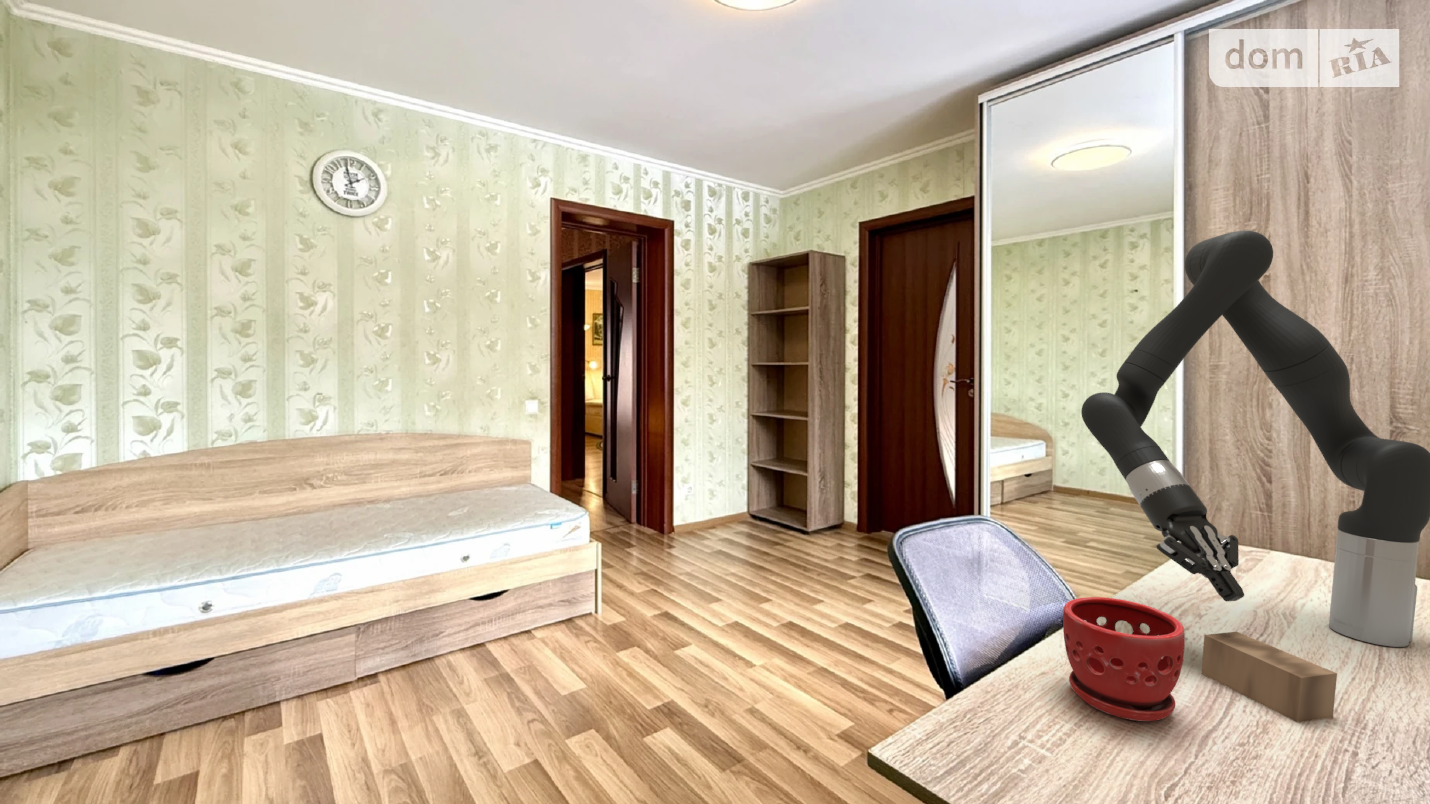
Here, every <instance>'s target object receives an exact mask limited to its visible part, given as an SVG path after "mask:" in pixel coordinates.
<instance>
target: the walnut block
mask: <svg viewBox="0 0 1430 804" xmlns="http://www.w3.org/2000/svg"><path fill="white" fill-rule="evenodd" d="M1202 648H1203V649H1202V661H1201V673H1200V674H1201V676H1202V675H1203V676H1204V677H1206V678H1208V679H1210V680H1213V681H1214V682H1216V683H1219V684H1221V685H1222V686H1225V687H1226V688H1228V689H1230V690H1232V691H1234V692H1236V693H1238V694H1240V695H1242V696H1244V697H1246V698H1248V699H1250V700H1253V701H1254V702H1256V703H1258V704H1260V705H1261V706H1264V707H1266V708H1268V709H1270V710H1272V711H1274V712H1276V713H1278V714H1280V715H1282V716H1284V717H1285V718H1288V719H1290V720H1292V721H1293V722H1295V723H1304V722H1309V721H1316V720H1322V719H1329V718H1331V719H1332V718H1334V711H1335V710H1334V709H1335V700H1336V699H1335V697H1336V688H1337V678H1338V673H1337V672H1335V671H1333V670H1331V669H1328V668H1325V667H1324V666H1320V665H1318V664H1316V663H1313V662H1312V661H1309V660H1306V659H1304V658H1302V657H1299V656H1296V655H1294V654H1292V653H1289V652H1288V651H1284V650H1282V649H1280V648H1277V647H1275V646H1272V645H1270V644H1267V643H1265V642H1263V641H1261V640H1258V639H1255V638H1253V637H1251V636H1248V635H1246V634H1244V633H1241V632H1238V631H1230V632H1219V633H1218V632H1217V633H1211V634H1210V633H1209V634H1204V635H1203V647H1202Z"/></svg>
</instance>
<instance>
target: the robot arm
mask: <svg viewBox="0 0 1430 804" xmlns="http://www.w3.org/2000/svg"><path fill="white" fill-rule="evenodd" d="M1273 258H1274V248H1273V244H1272V243H1271V241H1270V240H1269V238H1267V237H1266V236H1265V235H1264V234H1262V233H1259V232H1257V231H1254V230H1253V231H1252V230H1236V231H1232V232H1227V233H1223V234H1221V235H1218V236H1214V237H1210V238H1208V239H1204V240H1201V241H1200V242H1198V243H1196V244H1195V245H1193V246H1192V247H1191V248H1190V250H1189V251H1188V252H1187V255H1186V257H1185V260H1184V270H1185V273H1186V274H1185V275H1186V276H1187V278H1188V280H1189V281H1190V283H1191V284H1192V287H1191V289H1190V290H1189V291H1188V293H1186V295H1185V297H1183V299H1182V300H1181V301H1180V302H1179V303H1178V304H1177V305H1176V306H1175V307H1174V308H1173V309H1172V310H1171V311H1170V312H1169V313H1168V314H1167V315H1166V316H1164V317H1163V318H1162V319H1161V320H1160V321H1158V323H1156V324H1155V325H1154V327H1153V328H1151V330H1149V331H1148V332H1146V334H1145V335H1144V337H1143V338H1142V339H1141V340H1139V342H1138V343H1137V344H1136V346H1135V347H1134V348H1133V350H1132V351H1131V352H1130V353H1129V355H1128V356H1127V357H1126V359H1125V360H1124V361H1123V363H1122V364H1121V366H1120V368H1119V369H1118V370H1117V372H1116V380H1117V382H1118V385H1117V386H1118V387H1117V389H1116V390H1115V393H1111V392H1105V391H1104V392H1097V393H1093V394H1092V395H1090V396H1088V397H1087V398H1086V399H1085V401H1084V402H1083V404H1082V405H1081V412H1080V413H1081V418H1082V421H1083V422H1084V425H1085V426H1086V428H1087V429H1088V430H1089V432H1090V433H1091V434H1092V436H1093V437H1094V438H1095V440H1097V442H1098V443H1099V444H1100V445H1101V446H1102V448H1103V449H1104V450H1105V451H1106V452H1107V454H1108V455H1109V456H1110V457H1111V459H1112V461H1113V463H1114V464H1115V466H1116V468H1117V469H1118V471H1119V473H1120V474H1121V476H1122V477H1123V479H1124V480H1125V482H1126V484H1127V485H1128V488H1129V490H1130V492H1131V493H1132V496H1133V497H1134V499H1135V500H1136V502H1137V503H1138V505H1139V507H1140V508H1141V510H1142V511H1143V513H1144V514H1145V515H1146V517H1147V519H1148V521H1150V523H1151V525H1152V526H1153V527H1154V529H1155V530H1156V531H1159V532H1161V535H1162V537H1163V539H1162V541H1161V542H1159V543H1158V544H1157V545H1156V549H1157V550H1158V551H1159V552H1160V553H1162V554H1163V555H1165V556H1166V557H1168V559H1169V558H1170V560H1171V561H1173V562H1175V563H1176V564H1178V565H1179V566H1180V567H1182V568H1183V569H1185V570H1186V571H1187V572H1188V573H1190V574H1191V575H1196V574H1199V575H1202V577H1204V578H1206V579H1208V581H1209V582H1210V584H1211V585H1212V587H1213V588H1214V589H1215V591H1216V593H1217V594H1218V595H1219V596H1220V597H1221V598H1222V600H1223V601H1225V602H1236V601H1238V600H1241V599H1242V598H1244V597H1245V592H1244V590H1243V588H1242V586H1241V585H1240V583H1238V581H1237V579H1236V578H1235V576H1234V575H1233V573H1232V571H1231V570H1233V569H1234V568H1236V567H1238V566H1239V563H1240V562H1239V539H1238V537H1236V536H1235V535H1233V534H1231V535H1228V536H1226V535H1225V534H1222V533H1220V532H1218V529H1217V528H1216V526H1215V525H1214V524H1212V523H1211V522H1210V521H1209V520H1208V519H1207V514H1208V509H1207V507H1206V505H1205V504H1204V503H1203V502H1202V500H1201V499H1200V497H1199V496H1198V494H1197V493H1196V491H1195V490H1194V489H1193V487H1191V485H1190V483H1189V482H1188V481H1187V480H1186V478H1185V476H1184V475H1183V474H1182V473H1181V471H1179V469H1178V468H1176V466H1175V465H1174V464H1173V463H1172V461H1170V459H1169V457H1167V455H1166V454H1165V453H1164V451H1163V449H1162V448H1161V447H1160V445H1159V444H1158V443H1157V442H1156V441H1155V440H1154V439H1153V438H1152V437H1151V436H1149V434H1147V432H1145V431H1144V429H1142V426H1143V425H1144V423H1145V421H1146V419H1147V417H1148V415H1149V413H1150V412H1151V409H1152V406H1153V405H1154V402H1155V400H1156V398H1157V395H1158V393H1159V391H1160V389H1161V388H1162V387H1163V386H1164V385H1165V383H1166V382H1167V381H1168V379H1170V377H1171V376H1172V374H1173V373H1174V372H1175V371H1176V369H1178V367H1179V365H1180V364H1182V362H1183V360H1184V359H1185V358H1186V356H1187V355H1188V354H1189V352H1190V351H1191V350H1192V349H1193V348H1194V346H1195V345H1196V344H1197V343H1198V341H1200V339H1202V337H1203V336H1204V335H1205V334H1206V333H1207V331H1209V330H1210V328H1211V327H1212V326H1213V325H1214V324H1215V323H1216V322H1217V320H1218V319H1219V318H1221V317H1223V318H1224V319H1225V321H1227V323H1228V324H1229V325H1230V327H1231V329H1232V330H1233V331H1234V332H1235V334H1236V335H1237V337H1238V339H1240V341H1241V343H1242V344H1243V345H1244V346H1245V348H1246V349H1247V350H1248V351H1249V352H1250V355H1251V356H1252V357H1253V358H1254V359H1255V362H1257V364H1258V366H1259V367H1260V369H1261V370H1262V371H1263V373H1264V374H1265V375H1266V377H1267V378H1268V379H1269V381H1270V382H1271V383H1272V385H1273V386H1274V387H1275V389H1276V390H1277V391H1278V392H1279V393H1280V394H1281V396H1282V397H1283V398H1284V400H1285V401H1286V402H1287V404H1288V405H1289V407H1291V409H1292V411H1293V412H1294V413H1295V414H1296V416H1297V418H1299V421H1301V422H1302V424H1303V425H1304V426H1305V428H1306V429H1307V431H1308V433H1309V434H1310V436H1311V437H1312V439H1313V440H1314V442H1315V444H1316V446H1317V448H1318V450H1319V451H1320V453H1321V455H1322V457H1323V458H1324V461H1326V464H1327V466H1328V467H1329V469H1330V470H1331V472H1332V473H1333V475H1334V476H1335V477H1336V478H1337V479H1338V480H1339V481H1340V482H1341V483H1343V484H1344V485H1346V486H1348V487H1351V488H1353V489H1355V490H1359V491H1362V492H1363V496H1362V500H1361V505H1360V506H1359V507H1358V508H1356V509H1355V510H1348V511H1347V510H1346V511H1344V512H1341V513H1340V514H1339V515H1338V516H1339V517H1338V519H1337V530H1336V531H1337V532H1336V541H1335V555H1334V565H1333V575H1332V585H1331V597H1330V598H1331V599H1330V608H1329V615H1328V616H1329V617H1328V627H1329V628H1330V629H1332V630H1333V631H1335V632H1337V633H1338V634H1341V635H1344V636H1346V637H1348V638H1352V639H1354V640H1358V641H1362V642H1365V643H1369V644H1374V645H1377V646H1385V647H1397V648H1404V647H1408V646H1409V645H1410V642H1412V641H1413V633H1414V627H1415V623H1414V622H1415V615H1416V613H1415V612H1416V608H1417V607H1416V606H1417V595H1418V586H1417V584H1416V581H1417V580H1416V579H1417V578H1416V577H1417V569H1418V556H1419V545H1420V540H1421V533H1422V532H1423V530H1424V529H1425V527H1426V526H1427V525H1428V523H1429V521H1430V451H1429V450H1428V449H1427V448H1425V447H1424V446H1422V445H1419V444H1417V443H1413V442H1409V441H1403V440H1397V439H1389V438H1380V437H1379V436H1377V435H1376V434H1375V433H1374V432H1373V431H1371V429H1370V428H1369V427H1368V426H1367V424H1365V422H1364V420H1362V419H1361V417H1360V416H1359V415H1358V413H1357V412H1356V410H1355V409H1354V407H1353V405H1352V401H1351V381H1350V378H1351V377H1350V373H1349V369H1348V367H1347V366H1348V365H1346V363H1345V362H1344V360H1343V358H1342V357H1341V356H1340V354H1339V352H1338V351H1337V350H1336V349H1335V347H1334V346H1333V345H1332V344H1331V342H1330V341H1329V340H1328V339H1327V338H1326V336H1325V335H1324V334H1323V333H1322V332H1321V331H1320V330H1319V329H1318V328H1316V327H1315V326H1314V325H1313V324H1311V323H1310V322H1308V321H1307V320H1306V319H1305V318H1302V317H1301V316H1300V315H1298V314H1297V313H1295V312H1294V311H1292V310H1290V309H1289V308H1288V307H1286V306H1284V305H1283V304H1282V303H1280V302H1279V301H1277V299H1275V298H1274V297H1273V296H1272V295H1271V294H1270V293H1269V292H1268V291H1267V290H1266V288H1264V286H1263V284H1262V283H1261V282H1260V279H1261V278H1262V277H1263V276H1264V274H1266V273H1267V271H1269V269H1270V267H1271V265H1272V263H1273Z"/></svg>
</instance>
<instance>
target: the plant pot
mask: <svg viewBox="0 0 1430 804" xmlns="http://www.w3.org/2000/svg"><path fill="white" fill-rule="evenodd" d="M1062 618H1063V622H1062V624H1063V625H1062V626H1063V628H1062V629H1063V639H1064V646H1065V651H1066V652H1065V653H1066V656H1067V659H1068V662H1069V665H1070V667H1071V669H1072V671H1071V672H1070V673H1069V675H1068V681H1069V684H1070V686H1071V689H1072V690H1073V691H1074V693H1076V695H1078V697H1079V698H1080V699H1082V700H1083V701H1084V702H1085V703H1087V704H1088V705H1089V706H1091V707H1093V708H1094V709H1095V710H1096V709H1097V710H1099V711H1100V712H1103V713H1106V714H1108V715H1110V716H1111V715H1112V716H1114V717H1117V718H1120V719H1121V718H1122V719H1126V720H1131V721H1132V722H1155V721H1159V720H1162V719H1165V718H1167V717H1169V716H1171V714H1172V713H1173V712H1174V710H1175V708H1176V699H1175V698H1174V696H1173V695H1172V692H1173V690H1174V689H1175V687H1176V685H1177V683H1178V681H1179V679H1180V676H1181V672H1182V667H1183V663H1184V653H1185V646H1186V645H1185V643H1186V642H1185V641H1186V640H1185V639H1186V638H1185V628H1184V626H1183V624H1182V623H1181V622H1180V620H1178V619H1177V618H1175V617H1174V616H1172V615H1171V614H1168V613H1166V612H1164V611H1162V610H1159V609H1157V608H1155V607H1152V606H1149V605H1146V604H1142V603H1139V602H1135V601H1130V600H1125V599H1120V598H1112V597H1104V596H1103V597H1101V596H1089V597H1088V596H1087V597H1086V596H1085V597H1079V598H1075V599H1071V600H1069V601H1068V602H1066V603H1065V604H1064V606H1063V617H1062ZM1099 618H1103V619H1105V621H1106V622H1105V623H1104V624H1099V623H1098V619H1099ZM1120 621H1122V622H1126V623H1127V624H1129V626H1131V629H1132V633H1126V632H1125V633H1124V632H1120V631H1118V630H1117V629H1116V625H1117V623H1118V622H1120ZM1142 624H1145V625H1146V626H1147V627H1148V628H1149V629H1148V630H1149V632H1144V631H1142V628H1141V625H1142Z"/></svg>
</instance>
